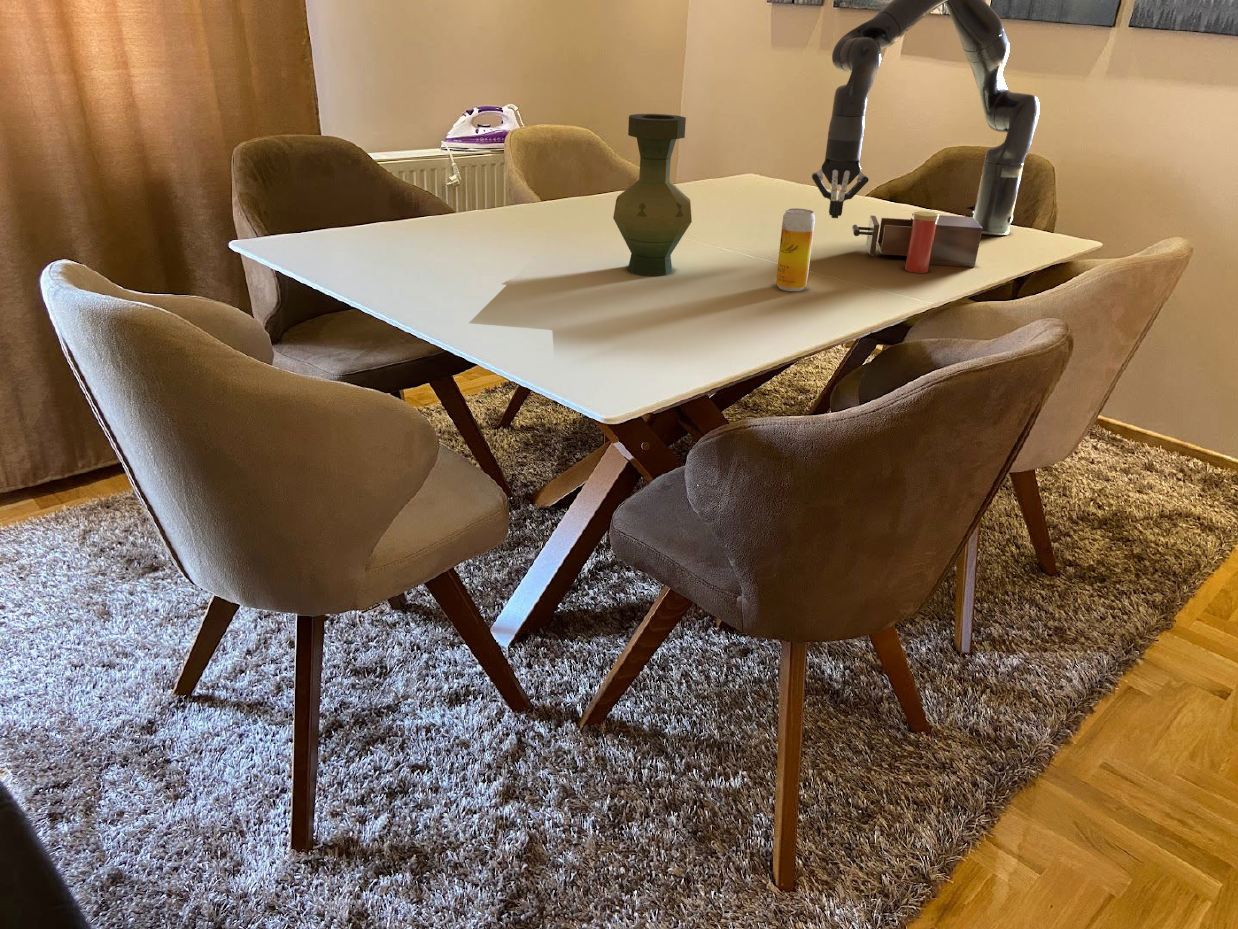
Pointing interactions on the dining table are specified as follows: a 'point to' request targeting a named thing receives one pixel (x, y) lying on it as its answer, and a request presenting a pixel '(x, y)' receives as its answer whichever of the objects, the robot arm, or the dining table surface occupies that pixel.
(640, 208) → the vase
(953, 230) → the cabinet
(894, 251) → the drawer
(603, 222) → the dining table surface
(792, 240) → the beer can
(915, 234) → the tea tin
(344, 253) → the dining table surface
